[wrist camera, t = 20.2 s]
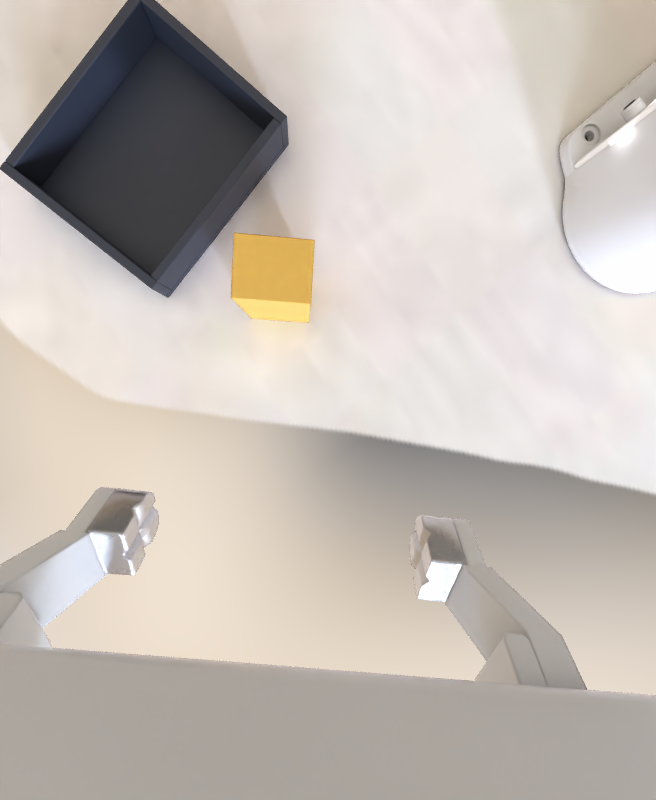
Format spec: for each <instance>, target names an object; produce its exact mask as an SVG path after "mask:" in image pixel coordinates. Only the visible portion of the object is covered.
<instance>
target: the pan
mask: <svg viewBox="0 0 656 800" xmlns="http://www.w3.org/2000/svg"><path fill="white" fill-rule="evenodd" d="M288 144H289V143H288V127H287V116H286V115H285V114H284V113H282V112H281V111H280V110H279V109H278V108H277V107H276V106H274V105H273V104H272V103H271V102H270V101H269V100H268V99H266V98H265V97H264V96H263V95H262V94H261V93H260V92H259V91H257V90H256V89H255V88H254V87H253V86H252V85H251V84H249V83H248V82H247V81H246V80H245V79H244V78H243V77H242V76H240V75H239V74H238V73H237V72H236V71H235V70H234V69H232V68H231V67H230V66H229V65H228V64H227V63H226V62H224V61H223V60H222V59H221V58H220V57H219V56H218V55H217V54H215V53H214V52H213V51H212V50H211V49H210V48H209V47H207V46H206V45H205V44H204V43H203V42H202V41H201V40H200V39H198V38H197V37H196V36H195V35H194V34H193V33H192V32H190V31H189V30H188V29H187V28H186V27H185V26H184V25H183V24H181V23H180V22H179V21H178V20H177V19H176V18H175V17H173V16H172V15H171V14H170V13H169V12H168V11H167V10H165V9H164V8H163V7H162V6H161V5H160V4H159V3H158V2H156V1H155V0H128V1H127V2H126V3H125V5H124V6H123V7H122V9H121V10H120V11H119V13H118V14H117V15H116V16H115V18H114V19H113V20H112V22H111V23H110V24H109V26H108V27H107V28H106V30H105V31H104V32H103V33H102V35H101V36H100V37H99V39H98V40H97V41H96V43H95V44H94V45H93V47H92V48H91V49H90V50H89V52H88V53H87V54H86V56H85V57H84V58H83V60H82V61H81V62H80V64H79V65H78V66H77V67H76V69H75V70H74V71H73V73H72V74H71V75H70V77H69V78H68V79H67V81H66V82H65V83H64V84H63V86H62V87H61V88H60V90H59V91H58V92H57V94H56V95H55V96H54V98H53V99H52V100H51V101H50V103H49V104H48V105H47V107H46V108H45V109H44V111H43V112H42V113H41V115H40V116H39V117H38V118H37V120H36V121H35V122H34V124H33V125H32V126H31V128H30V129H29V130H28V131H27V133H26V134H25V135H24V137H23V138H22V139H21V141H20V142H19V143H18V145H17V146H16V147H15V148H14V150H13V151H12V152H11V154H10V155H9V156H8V158H7V159H6V162H4V163H3V164H2V165H1V167H0V170H2V171H3V172H4V173H5V174H7V175H8V176H9V177H10V178H12V179H13V180H14V181H16V182H17V183H18V184H19V185H21V186H22V187H23V188H24V189H26V190H27V191H28V192H30V193H31V194H32V195H33V196H35V197H36V198H37V199H38V200H40V201H41V202H42V203H43V204H45V205H46V206H47V207H49V208H50V209H51V210H52V211H54V212H55V213H56V214H57V215H59V216H60V217H61V218H62V219H64V220H65V221H66V222H68V223H69V224H70V225H71V226H73V227H74V228H75V229H76V230H78V231H79V232H80V233H82V234H83V235H84V236H85V237H87V238H88V239H89V240H90V241H92V242H93V243H94V244H95V245H97V246H98V247H99V248H101V249H102V250H103V251H104V252H106V253H107V254H108V255H109V256H111V257H112V258H113V259H114V260H116V261H117V262H118V263H120V264H121V265H122V266H123V267H125V268H126V269H127V270H128V271H130V272H131V273H132V274H134V275H135V276H136V277H137V278H139V279H140V280H141V281H142V282H144V283H145V284H146V285H147V286H149V287H150V288H151V289H153V290H155V291H157V292H159V293H161V294H162V295H164V296H166V297H169V296H170V295H171V294H172V292H173V291H174V290H175V289H176V287H177V286H178V285H179V283H180V282H181V281H182V280H183V278H184V277H185V276H186V275H187V273H188V272H189V271H190V269H191V268H192V267H193V266H194V264H195V263H196V262H197V261H198V259H199V258H200V257H201V255H202V254H203V253H204V252H205V250H206V249H207V248H208V246H209V245H210V244H211V243H212V241H213V240H214V239H215V238H216V236H217V235H218V234H219V232H220V231H221V230H222V229H223V227H224V226H225V225H226V224H227V222H228V221H229V220H230V218H231V217H232V216H233V215H234V213H235V212H236V211H237V210H238V208H239V207H240V206H241V204H242V203H243V202H244V201H245V199H246V198H247V197H248V195H249V194H250V193H251V192H252V190H253V189H254V188H255V187H256V185H257V184H258V183H259V181H260V180H261V179H262V178H263V176H264V175H265V174H266V173H267V171H268V170H269V169H270V167H271V166H272V165H273V164H274V162H275V161H276V160H277V158H278V157H279V156H280V155H281V153H282V152H283V151H284V150H285V148H286V147H287V146H288Z"/></svg>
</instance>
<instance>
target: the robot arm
mask: <svg viewBox="0 0 656 800" xmlns="http://www.w3.org/2000/svg"><path fill="white" fill-rule="evenodd" d="M585 137H587V139H588V141H587V140H586V139H585ZM559 154H560V160H561V165H562V169H563V173H564V176H565V191H564V199H563V210H562V216H563V226H564V232H565V236H566V239H567V242H568V245H569V248H570V250H571V252H572V254H573V256H574V257H575V259H576V261H577V262H578V263H579V265H580V266H581V267H582V269H583V270H584V271H585V272H586V273H587V274H588V275H589V276H590V277H592V278H593V279H594V280H596V281H597V282H598V283H600V284H602V285H604V286H605V287H608V288H610V289H612V290H615V291H619V292H623V293H632V294H640V293H648V292H653V291H656V61H655V62H654V63H652V64H651V65H650V66H649V67H648V68H647V69H645V70H644V71H643V72H642V73H641V74H639V75H638V76H637V77H636V78H635V79H634V80H632V81H631V82H630V83H629V84H628V85H626V86H625V87H624V88H623V89H622V90H621V91H619V92H618V93H617V94H616V95H615V96H613V97H612V98H611V99H610V100H609V101H608V102H606V103H605V104H604V105H603V106H602V107H600V108H599V109H598V110H597V111H596V112H595V113H593V114H592V115H591V116H590V117H589V118H587V119H586V120H585V121H584V122H583V123H582V124H580V125H579V126H578V127H577V128H576V129H575V130H573V131H572V132H571V133H570V134H569V135H567V136H566V137H565V138H564V139H563V141H562V142H561V144H560V149H559ZM154 502H155V497H154V494H153V493H152V492H145V491H135V490H127V489H119V488H118V489H116V488H107V487H100V488H99V489H98V490H96V491H95V492H94V494H93V495H92V496H91V498H90V499H89V500H88V501H87V503H86V504H85V505H84V507H83V508H82V509H81V511H80V512H79V513H78V514H77V516H76V517H75V518H74V520H73V521H72V522H71V524H70V525H69V526H68V528H67V529H66V530H65V531H64V530H60V531H58V532H56V533H54V534H53V535H51V536H49V537H47V538H46V539H44V540H42V541H40V542H39V543H37V544H35V545H34V546H32V547H30V548H28V549H27V550H25V551H23V552H21V553H20V554H18V555H16V556H14V557H13V558H11V559H9V560H7V561H6V562H4V563H2V564H0V800H656V695H647V694H633V693H622V692H609V691H596V690H587V688H586V686H585V684H584V682H583V680H582V677H581V675H580V673H579V671H578V669H577V667H576V665H575V662H574V660H573V658H572V656H571V654H570V652H569V650H568V648H567V645H566V643H565V641H564V639H563V637H562V635H561V634H560V633H559V632H558V631H556V629H554V628H553V627H552V626H551V625H550V624H549V623H548V622H547V621H546V620H545V619H544V618H543V617H542V616H541V615H540V614H539V613H538V612H537V611H536V610H535V609H534V608H533V607H532V606H531V605H530V604H529V603H528V602H527V601H526V600H524V598H522V597H521V596H520V595H519V594H518V593H517V592H516V591H515V590H514V589H513V588H512V587H511V586H510V585H509V584H508V583H507V582H506V581H505V580H504V579H503V578H502V577H501V576H500V575H499V574H498V573H497V572H495V570H493V568H491V567H486V564H485V562H484V559H483V557H482V554H481V551H480V548H479V545H478V543H477V540H476V537H475V535H474V532H473V529H472V527H471V524H470V522H469V521H468V520H467V519H456V518H446V517H433V516H418V517H417V519H416V522H415V526H416V531H414V532H413V533H412V535H411V538H410V546H409V555H410V562H411V565H412V566H413V567H414V568H415V569H416V571H415V574H414V577H413V579H414V585H415V590H416V596H417V599H424V600H432V601H441V602H442V601H443V602H445V604H446V606H447V607H448V608H449V610H450V611H451V612H452V614H453V615H454V617H455V618H456V619H457V621H458V622H459V623H460V625H461V626H462V628H463V629H464V630H465V632H466V633H467V634H468V636H469V637H470V639H471V640H472V642H473V643H474V644H475V646H476V647H477V649H478V650H479V651H480V653H481V654H482V655H483V657H484V658H485V660H486V661H487V662H486V664H485V665H484V666H483V668H482V670H481V671H480V672H479V674H478V675H477V677H476V678H475V681H468V680H455V679H441V678H430V677H417V676H404V675H391V674H379V673H366V672H354V671H341V670H328V669H316V668H304V667H291V666H277V665H266V664H252V663H240V662H227V661H215V660H202V659H189V658H175V657H162V656H151V655H138V654H125V653H112V652H99V651H86V650H74V649H61V648H51V647H52V646H51V642H50V640H49V638H48V637H47V635H46V633H45V632H44V630H43V627H45V626H46V625H47V624H48V623H49V622H50V621H52V620H53V619H54V618H55V617H56V616H57V615H59V614H60V613H61V612H62V611H64V610H65V609H66V608H67V607H68V606H69V605H71V604H72V603H73V602H74V601H75V600H77V599H78V598H79V597H80V596H81V595H83V594H84V593H85V592H86V591H87V590H89V589H90V588H91V587H92V586H93V585H95V584H96V583H97V582H98V581H99V580H100V579H102V578H103V577H104V576H105V574H122V575H135V574H136V572H137V570H138V569H139V567H140V565H141V563H142V561H143V559H144V557H145V552H144V547H146V546H147V545H148V544H150V543H151V542H152V541H153V539H154V537H155V535H156V532H157V528H158V524H159V515H158V511H157V510H156V509H155V508H154V507H153V504H154Z"/></svg>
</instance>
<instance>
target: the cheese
mask: <svg viewBox="0 0 656 800" xmlns="http://www.w3.org/2000/svg"><path fill="white" fill-rule="evenodd" d="M314 243H315V241H314V240H309V239H298V238H287V237H276V236H265V235H254V234H243V233H234V243H233V264H232V285H231V298H232V299H233V300H234V301H235V302H236V303H237V304H238V305H239V306H240V307H241V308H242V309H243V310H244V311H245V312H246V313H247V314H248V315H249V317H250V318H254V319H267V320H281V321H294V322H307V323H308V322H309V316H310V306H311V291H312V275H313V259H314Z"/></svg>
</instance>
